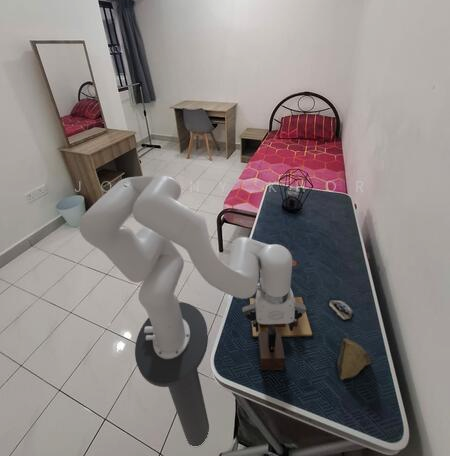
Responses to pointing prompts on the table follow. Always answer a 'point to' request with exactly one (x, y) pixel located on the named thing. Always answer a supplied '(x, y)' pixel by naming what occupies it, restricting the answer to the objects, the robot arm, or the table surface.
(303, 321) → the board
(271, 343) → the knife
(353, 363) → the rock
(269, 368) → the knife block
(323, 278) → the table surface
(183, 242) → the robot arm
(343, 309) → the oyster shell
